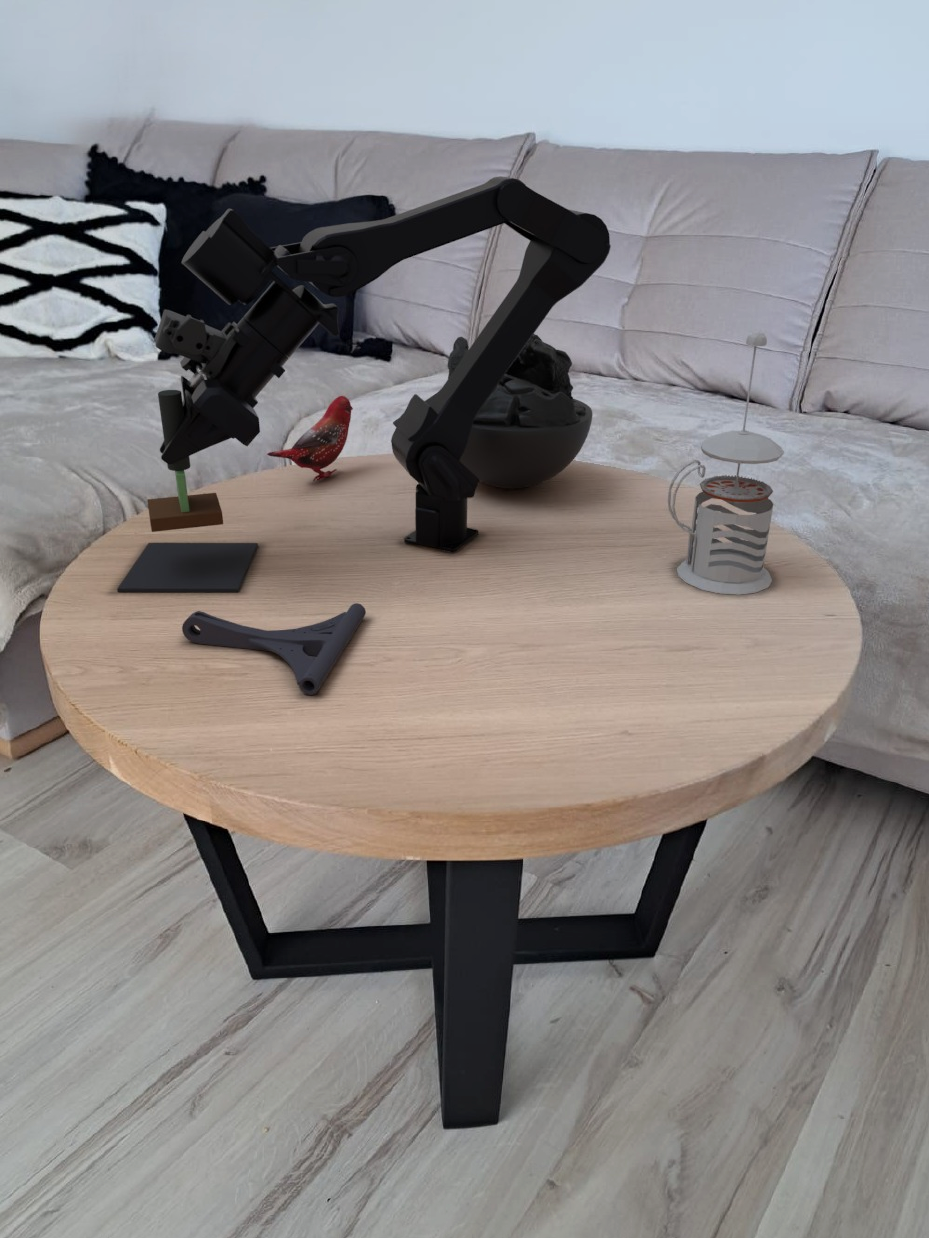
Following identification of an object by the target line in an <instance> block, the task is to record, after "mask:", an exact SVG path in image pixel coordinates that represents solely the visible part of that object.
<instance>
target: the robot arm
mask: <svg viewBox="0 0 929 1238" xmlns="http://www.w3.org/2000/svg"><path fill="white" fill-rule="evenodd" d="M503 224H505V225H506V226H507V227H509V228H510V229H511V230H512V231H514V232H516V233H517V234H518V235H519V236H522V237H523V238H525V239H526V240H527V241H529V242H528V245H527V247H526V249H525V251H524V254H523V255H524V256H523V258H522V264H521V267H520V271H519V275H518V278H517V280H516V281H515V283H514V284H513V285H512V287H511V288H510V290H509V291H508V293H507V294H506V295H505V297H504V299H503V300H502V301H501V302H500V304H499V306H497V309H496V310H495V311H494V313H493V314H492V316H491V318H489V320H488V322H487V323H486V324H485V326H484V327H483V328H482V330H481V331H480V333H479V334H478V336H477V337H476V339H475V340H474V342H473V343H472V344H471V346H470V347H469V348H468V352H467V353H466V354H465V356H464V357H463V359H462V360H461V362H460V363H459V364H458V366H457V367H456V369H455V370H454V372H453V373H452V374H451V376H450V377H449V379H448V378H447V380H446V381H445V383H444V384H443V386H442V387H441V388H440V390H438V391H437V392H436V393H434V394H433V395H431V396H430V397H428V398H426V399H425V400H424V399H423V398H421V397H420V396H419V395H418V394H417V393H415V394H413V395H412V397H411V398H410V400H409V401H408V404H407V406H406V408H405V410H404V411H403V412H402V414H401V415H400V416H399V417H398V418H396V419H395V420H394V421H392V425H393V426H394V427H395V429H394V431H393V434H392V435H391V440H390V443H391V449H392V454H393V455H394V457H395V459H396V461H397V462H398V463H399V464H400V465H401V466H402V468H403V469H404V470H405V471H406V472H407V474H408V475H409V476H410V477H412V479H414V481H416V482H417V484H416V485H415V509H414V515H415V516H414V520H415V523H414V524H415V525H414V527H415V529H414V531H412V532H411V533H409V534H408V535H406V536H405V537H404V538H403V542H404V543H405V544H408V545H413V546H419V547H423V548H427V549H433V550H437V551H442V552H447V553H457V551H459V550H460V549H461V548H463V547H464V546H466V545H467V544H468V543H470V542H471V541H473V540H474V539H475V538H476V537H478V536H479V529H476V528H471V527H468V499H471V498H474V496H475V493H476V491H477V488H478V485H479V482H480V481H479V479H478V478H477V477H476V476H475V475H474V474H473V473H472V472H471V471H470V470H469V469H468V468H467V467H466V466H465V465H464V464H463V463H462V462H461V461H460V459H461V457H462V455H463V453H464V451H465V449H466V447H467V445H468V441H469V437H470V433H471V429H472V425H473V421H474V418H475V416H476V414H477V413H478V411H479V410H480V408H481V407H482V406H483V404H484V403H485V401H486V400H487V399H488V397H489V396H490V394H491V393H492V392H493V390H494V389H495V387H496V386H497V385H498V383H499V382H500V380H501V379H502V378H503V376H504V375H505V373H506V372H507V370H508V369H509V368H510V366H511V365H512V363H513V362H514V361H515V359H516V358H517V356H518V355H519V354H520V352H521V351H522V349H523V348H524V347H525V345H526V344H527V342H528V341H529V340H530V338H531V337H532V335H533V334H536V333H535V332H536V331H537V330H538V329H539V327H540V325H542V323H543V322H544V320H545V319H546V317H547V316H548V314H549V313H550V312H551V310H552V309H553V308H554V306H555V305H556V304H557V303H559V302H560V301H562V300H563V299H565V298H566V297H567V296H569V295H570V294H572V293H573V292H574V291H576V290H578V289H579V288H580V287H582V286H583V285H584V284H585V283H586V282H587V281H588V280H589V279H590V277H592V276H593V275H594V274H595V273H596V272H597V270H599V269H600V268H601V266H602V265H603V264H604V263H605V261H606V260H607V258H608V256H609V254H610V251H611V246H612V245H611V242H610V239H611V237H610V232H609V230H608V227H607V225H606V223H605V222H604V221H603V219H602V218H600V217H599V216H597V215H596V214H592V213H588V212H582V211H578V210H573V209H568V208H566V207H564V206H562V205H561V204H559V203H557V202H555V201H553V200H552V199H549V198H547V197H546V196H545V195H542V194H540V193H538V192H536V191H535V190H534V189H532V188H530V187H528V186H527V185H526V183H524V182H523V181H522V180H520V179H517V178H514V177H507V176H494V177H492V178H490V179H489V180H487V181H486V182H484V183H482V184H479V185H477V186H474V187H471V188H468V189H465V190H462V191H459V192H456V193H454V194H451V195H449V196H446V197H442V198H440V199H437V200H434V201H431V202H429V203H426V204H423V205H421V206H418V207H415V208H412V209H408V210H406V211H403V212H401V213H398V214H395V215H392V216H390V217H386V218H383V219H378V220H371V221H362V222H361V221H360V222H348V223H343V224H342V223H341V224H334V225H329V226H321V227H317V228H314V229H313V230H311V231H309V232H308V233H307V234H305V236H303V238H302V240H301V241H300V242H295V243H289V244H283V245H281V244H279V245H278V246H272V247H270V246H268V245H267V243H265V241H263V240H262V238H260V237H259V236H258V235H257V234H256V233H255V232H254V231H253V230H252V229H251V228H250V227H249V226H248V225H247V223H246V221H245V220H244V219H243V218H242V217H241V216H240V215H239V214H238V213H237V212H236V211H235V210H234V209H232V208H227V209H226V211H225V212H224V213H223V214H222V215H221V217H219V218H217V220H215V221H214V222H213V223H212V224H211V225H209V227H208V228H207V229H206V231H205V230H203V231H201V233H200V234H199V235H198V236H197V237H196V239H195V240H194V241H193V243H192V244H191V245H190V246H189V248H188V249H187V251H186V253H185V254H184V255H183V258H182V259H181V265H183V266H184V267H186V268H187V269H188V270H189V271H190V272H191V273H192V274H193V275H194V276H196V277H197V278H198V279H199V280H200V281H201V282H202V283H203V284H205V286H207V287H208V288H210V290H212V292H214V293H215V294H216V295H217V296H218V297H219V298H221V300H223V301H224V302H225V303H226V304H227V305H228V306H231V305H234V304H235V303H237V302H240V304H243V305H244V306H246V305H248V304H250V303H251V302H252V301H254V300H255V299H256V298H257V296H259V294H261V292H262V291H263V289H264V288H265V287H266V285H267V284H268V283H269V281H270V280H272V283H270V285H269V286H268V287H267V288H266V290H265V291H264V292H263V293H262V294H261V296H260V297H258V299H257V300H256V301H255V303H254V304H253V305H252V306H251V307H250V309H249V310H247V312H246V313H245V314H244V315H243V317H242V318H241V319H240V320H239V322H238V323H236V322H235V321H233V322H232V323H231V322H228V323H227V324H225V326H224V327H223V329H222V330H219V329H217V328H214V327H212V326H209V325H207V324H206V323H205V321H204V319H200V320H199V319H197V318H194V317H192V315H191V314H186V316H185V315H182V314H180V313H178V312H175V311H172V310H170V309H163V312H162V316H161V318H160V322H159V324H158V328H157V331H156V333H155V337H154V339H153V341H154V342H155V344H154V346H155V347H156V349H158V350H160V351H161V352H164V353H167V354H170V355H172V354H176V355H179V356H181V357H183V358H182V359H181V360H180V362H179V364H180V366H181V368H182V369H183V370H184V371H185V372H188V371H189V372H191V373H193V375H192V376H191V377H190V378H189V379H188V378H186V377H185V376H184V375H181V376H180V383H181V384H180V385H181V393H182V402H183V410H184V418H183V420H182V421H181V423H180V425H179V426H178V428H177V430H176V431H175V433H174V435H173V436H172V438H171V440H170V441H169V443H168V445H167V447H166V448H165V443H164V440H163V441H162V443H161V445H160V447H159V452H160V454H161V456H160V459H161V461H163V462H164V463H166V465H167V464H173V463H175V462H177V461H179V460H181V459H184V458H186V457H188V456H189V457H190V456H192V455H195V454H197V453H199V452H201V451H203V450H206V449H208V448H210V447H213V446H215V445H218V444H220V443H223V442H225V441H228V440H230V439H236V440H237V441H238V442H239V443H241V444H242V445H243V446H245V447H248V446H250V444H251V443H252V442H253V441H254V440H255V438H257V436H258V435H259V434H260V433H261V428H260V427H261V425H260V418H259V416H258V414H257V412H256V410H255V409H254V408H255V407H256V406H257V404H258V403H259V401H258V400H257V396H258V395H259V394H260V393H261V392H262V390H263V389H264V388H265V387H266V386H267V385H268V383H270V382H271V380H272V379H273V378H274V376H275V377H276V378H278V379H280V378H281V377H282V376H283V374H284V373H285V372H286V369H285V367H284V365H285V364H286V363H287V361H288V360H289V359H290V358H291V357H292V355H294V353H295V352H296V351H297V350H298V349H299V347H300V346H301V345H302V344H303V343H304V341H305V340H306V339H307V338H308V337H309V336H310V335H311V334H312V332H314V330H315V329H316V328H317V327H318V325H321V326H322V327H323V328H324V329H325V330H327V332H328V333H330V334H331V335H332V336H333V337H337V336H339V335H340V328H339V321H338V317H339V312H340V309H339V307H338V306H337V305H336V304H335V303H327V304H326V303H323V302H322V301H321V300H320V299H319V298H317V296H315V294H313V293H312V291H310V290H309V289H308V288H307V287H306V286H305V285H304V284H301V285H297V286H296V287H295V288H293V289H292V288H290V287H289V286H288V285H287V284H286V283H285V282H284V281H283V280H282V279H280V277H278V276H277V274H275V273H274V272H273V271H272V270H273V269H274V268H275V267H276V266H277V268H279V269H280V270H281V271H282V272H283V273H285V275H287V276H288V277H289V278H291V279H292V280H295V281H296V280H297V281H301V282H302V281H303V282H308V283H309V284H310V285H312V286H313V287H314V288H315V289H316V290H318V291H319V292H320V293H323V294H325V295H327V296H329V297H333V298H341V297H348V296H349V295H351V294H353V293H355V292H357V291H359V290H361V289H362V288H364V287H365V286H367V285H369V284H370V283H372V282H374V281H376V280H377V279H378V278H380V277H382V275H383V274H385V273H386V272H387V271H389V270H390V269H391V268H392V267H394V266H395V265H397V264H399V263H401V262H402V261H404V260H406V259H409V258H412V257H414V256H415V257H416V256H418V255H420V254H423V253H426V252H429V251H431V250H434V249H437V248H439V247H442V246H445V245H447V244H451V243H454V242H456V241H459V240H462V239H464V238H467V237H470V236H473V235H477V234H478V233H481V232H484V231H487V230H489V229H492V228H494V227H498V226H500V225H503Z"/></svg>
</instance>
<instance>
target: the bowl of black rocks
mask: <svg viewBox="0 0 929 1238" xmlns="http://www.w3.org/2000/svg"><path fill="white" fill-rule="evenodd" d="M452 346H453V347H452V351H451V352H449V356H448V358H447V359H448V360H447V368H448V374H447V380H448V379H449V377H450V376H451V374H452V373H453V372H454V370H455V369H456V367H457V366H458V364H459V363H460V362H461V360H462V359H463V357H464V356H465V354H466V353H467V352H468V350H469V349H470V347H469V341H468V339H467V338H465V337H463V336H458V337H456V339H455V341H454V342H453V345H452ZM572 365H573V361H572V359H571V357H570V356H569V355H568V354H567V352H566V351H564V350H561V349H557V348H556V347H554V346H553V345H551V344H549V343H547V342H544V341H543V340H542V339H541V337H540V336H538V334H536V333H534V334H533V335H532V337H531V338H530V340H529V341H528V342H527V344H526V345H525V347H524V348H523V349H522V351H521V352H520V354H519V355H518V356H517V358H516V359H515V361H514V362H513V363H512V365H511V366H510V368H509V369H508V370H507V372H506V373H505V375H504V376H503V378H502V379H501V380H500V382H499V383H498V385H497V386H496V387H495V389H494V390H493V392H492V393H491V394H490V396H489V397H488V399H487V400H486V401H485V403H484V404H483V406H482V407H481V408H480V410H479V411H478V413H477V414H476V416H475V418H474V421H473V425H472V429H471V433H470V437H469V441H468V445H467V447H466V449H465V451H464V453H463V455H462V457H461V459H460V461H461V462H462V463H463V464H464V465H465V466H466V467H467V468H468V469H469V470H470V471H471V472H472V473H473V474H474V475H475V476H476V477H477V478H478V479H479V482H481V483H483V484H486V485H488V486H492V487H494V488H499V489H500V488H501V489H524V488H529V487H534V486H536V485H540V484H542V483H545V482H547V481H549V480H550V479H553V478H554V477H556V476H557V475H558V474H560V473H561V472H563V471H564V470H565V469H566V468H567V467H568V466H569V465H570V464H571V463H572V462H573V461H574V460H575V459H576V457H577V456H578V455H579V453H580V451H581V449H582V448H583V446H584V444H585V443H586V440H587V438H588V435H589V433H590V429H591V425H592V420H593V415H594V414H593V409H592V408H591V407H590V406H589V405H588V404H586V403H585V402H583V401H581V400H579V399H577V398H574V396H572V391H573V390H574V386H573V385H572V383H571V378H570V375H569V373H570V369H571V367H572Z"/></svg>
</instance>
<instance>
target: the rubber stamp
mask: <svg viewBox="0 0 929 1238" xmlns="http://www.w3.org/2000/svg"><path fill="white" fill-rule="evenodd" d="M157 398H158V406H159V412H160V419H161V428H162V436H163V441H164V443H165V448H166V447H167V445H168V443H169V441H170V440H171V438H172V436H173V435H174V433H175V431H176V430H177V428H178V426H179V425H180V423H181V421H182V420H183V418H184V410H183V393H182V390H179V389H164V390H160V391H158V392H157ZM166 465H167V470H169V471H172V472H174V474H175V481H176V489H177V490H176V491H177V496H166V497H157V498H148V499H147V500H146V502H147V508H148V516H149V524H150V531H151V532H152V533H156V532H164V531H165V532H167V531H175V530H185V529H193V528H201V527H211V526H221V525H224V518H223V517H224V516H223V511H222V507H221V504H220V501H219V498H218V495H217V493H216V492H209V493H200V494H199V493H198V494H197V493H196V494H188V488H187V479H186V473H185V471H186V470H189V469H190V468H191V459H190V456H188V457H186V458H184V459H181V460H179V461H177V462H175V463H173V464H167V463H166Z"/></svg>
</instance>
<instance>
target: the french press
mask: <svg viewBox="0 0 929 1238" xmlns="http://www.w3.org/2000/svg"><path fill="white" fill-rule="evenodd" d="M767 342H768V339H767V336H766V334H765V332H760V331H752V332H751V333H749V334H748V335H747V336H746V341H745V344H746V345H747V346H751V347H753V354H752V361H751V367H750V368H751V369H750V375H749V383H748V390H747V397H746V405H745V411H744V419H743V427H742V430H730V431H725V432H721V433H718V434H714V435H711V436H710V437H708V438H706V439H705V440H703V441H702V442H700V444H699V445H700V450H701V452H702V454H704V455H705V456H707V457H709V458H711V459H714V460H719V461H722V462H728V463H734V464H737V468H736V469H737V470H736V475H734V476H733V475H731V476H730V475H727V474H723V475H714V476H711V477H708V478H705V475H706V466H705V465H703V464H701V461H700V460H699V459H693V460H691V461H690V462H688V463H685V464H684V465H683V466H682V467H681V468H679V470H677V471H676V473H675V475H674V476H673V478H672V480H671V482H670V484H669V486H668V490H667V491H668V493H667V506H668V512H669V514H670V516H671V519H673V521H675V523H676V525H677V526H679V528H680V529H681V530H683V531H684V532H686V533H688V535H689V536H688V543H687V552H686V559H685V560H684V561H682V562H681V563H680V564H679V566H678V567H677V568H676V571H677V576H678V577H679V578H680V579H681V580H683V581H684V582H685V583H686V584H688V585H690V586H692V587H695V588H697V589H699V590H702V591H707V592H711V593H716V594H721V595H737V596H738V595H739V596H740V595H748V594H755V593H759V592H761V591H764V590H766V589H767V588H768V589H769V587H770V585H771V584H772V583H773V579H772V576H771V574H770V572H769V571H768V570H767V569H766V567H765V566H764V565H765V560H766V554H767V547H768V540H769V535H770V529H771V522H772V517H773V510H774V502H773V501H772V500H771V499H770V497H771V495H772V494H773V493H774V490H773V489H772V487H771V485H769V484H768V483H766V482H764V481H761V480H758V479H755V478H753V477H751V478H749V477H746V476H744V477H743V476H740V469H741V464H744V465H745V464H746V465H759V464H770V463H774V462H777V461H778V460H779V459H780V458H781V457H783V455H784V454H785V451H784V449H783V448H782V446H781V445H779V443H777V442H776V441H774V440H773V439H772V438H770V437H768V436H765V435H763V434H760V433H758V432H752V431H749V430H746V426H747V418H748V410H749V405H750V404H749V403H750V396H751V388H752V381H753V374H754V367H755V360H756V352H757V347H765V346H766V345H767ZM694 463H696V464H697V465H696V466H694V467H693V468H691V469H688V471H687V472H686V473H685V474H684V475H682V477H681V478H680V479H679V481H678V483H677V485H676V487H675V490H674V492H673V495H672V490H673V487H674V484H675V482H676V480H677V479H678V476H679V475H680V474H681V473H682V472H683V471H684V470H685V469H686V468H687V467H688V466H690V465H692V464H694ZM701 469H702V471H701ZM696 470H697V475H698V476H699V477H700V478H705V479H703V480H702V481H701V482H700V483H699V485H700V489H701V492H699V493H697V495H696V496H695V497H694V506H693V513H692V514H693V515H692V521H691V522H692V523H691V527H690V526H689V525H687V524H685V523H683V522H681V521H680V520H679V519H678V516H677V512H676V499H677V494H678V491H679V489H680V486H681V484H682V483H683V481H684V480H685V479H686V478H687V477H688V476H689V475H690V474H691V473H692V472H694V471H696ZM711 499H714V500H722V501H723V502H725V503H727V504H728V505H731V506H733V507H734V508H737V509H740V510H742V511H744V512H747V513H752V514H739V513H736V512H734V511H732V510H730V509H729V508H726V507H725V506H722V505H720V504H713V503H710V504H708V505H706V506H704V505H702V504H703V503H706V502H707V501H709V500H711ZM671 503H672V505H671ZM717 526H724V527H725V528H727V529H730V530H723V529H721V528H718V527H717ZM744 527H745V528H744ZM747 528H748V529H747ZM718 538H724V539H725V540H728V541H729V542H727V541H726V542H723V541H721V540H720V539H718Z"/></svg>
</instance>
